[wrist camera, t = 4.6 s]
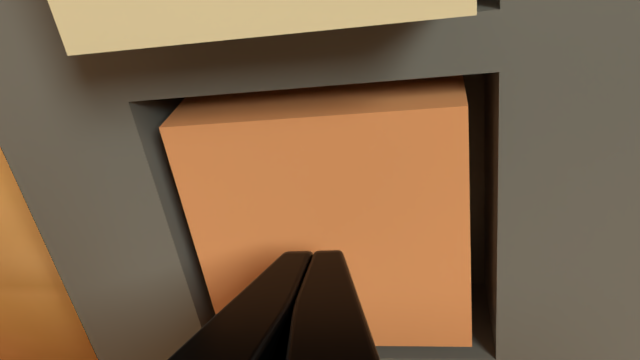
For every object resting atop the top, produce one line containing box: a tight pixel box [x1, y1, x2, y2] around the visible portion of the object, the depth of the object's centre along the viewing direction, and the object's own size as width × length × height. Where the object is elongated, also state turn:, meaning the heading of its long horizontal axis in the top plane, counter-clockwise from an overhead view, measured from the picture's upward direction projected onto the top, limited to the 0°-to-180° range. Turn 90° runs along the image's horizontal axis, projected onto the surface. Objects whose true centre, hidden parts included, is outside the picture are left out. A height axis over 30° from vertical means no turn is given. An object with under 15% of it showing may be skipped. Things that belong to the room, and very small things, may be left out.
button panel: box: [0, 0, 640, 360], centre depth 10 cm, size 18×10×3 cm, turn 8°
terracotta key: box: [159, 75, 472, 347], centre depth 10 cm, size 4×4×2 cm
